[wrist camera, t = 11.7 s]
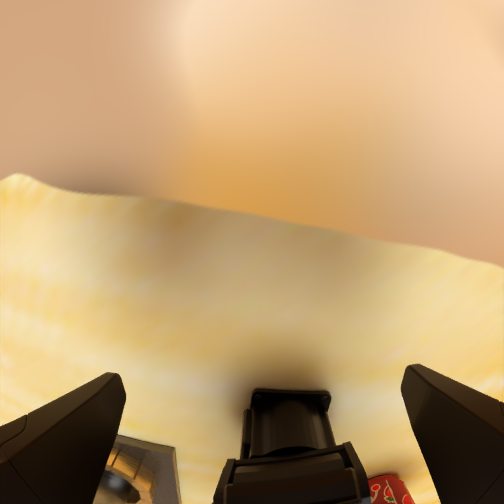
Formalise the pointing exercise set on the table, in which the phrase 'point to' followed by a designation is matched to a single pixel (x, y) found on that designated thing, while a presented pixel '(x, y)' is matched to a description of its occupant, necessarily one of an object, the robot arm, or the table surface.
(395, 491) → the smoothie
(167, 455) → the ring collar
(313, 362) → the table surface
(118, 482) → the piston
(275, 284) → the table surface
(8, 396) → the table surface
